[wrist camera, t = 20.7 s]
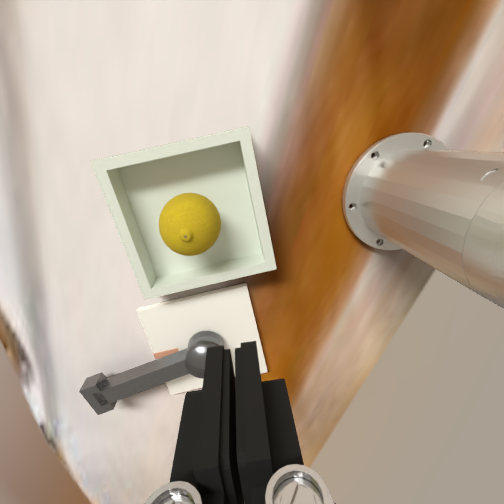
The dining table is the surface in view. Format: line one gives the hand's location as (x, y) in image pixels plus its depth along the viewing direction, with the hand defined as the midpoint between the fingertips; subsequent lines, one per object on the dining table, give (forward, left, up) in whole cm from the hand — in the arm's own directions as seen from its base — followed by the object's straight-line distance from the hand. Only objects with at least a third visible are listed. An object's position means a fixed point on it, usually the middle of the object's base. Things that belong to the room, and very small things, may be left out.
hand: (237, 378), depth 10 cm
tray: (+3, -1, -23) cm, 24 cm away
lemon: (+3, -1, -23) cm, 23 cm away
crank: (+12, +16, -22) cm, 30 cm away
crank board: (+6, +15, -23) cm, 28 cm away
